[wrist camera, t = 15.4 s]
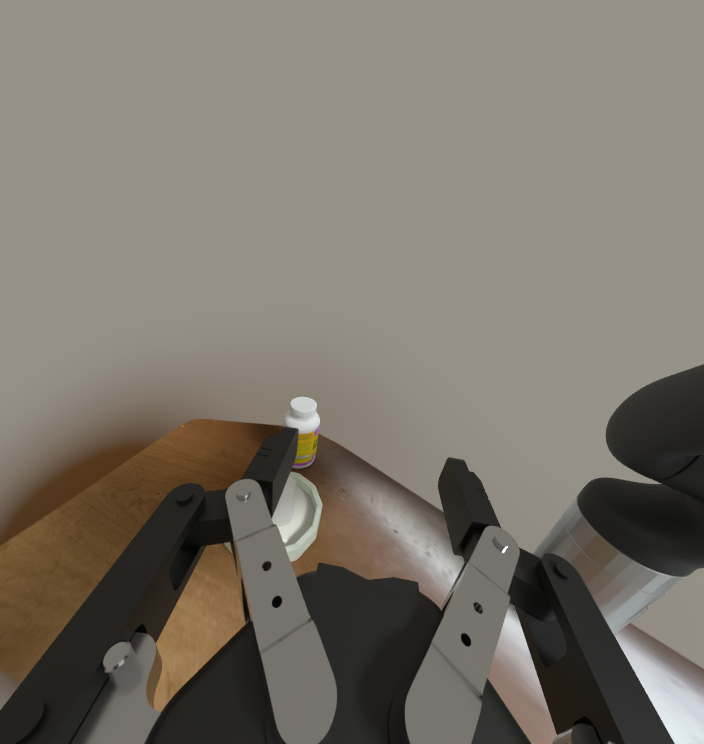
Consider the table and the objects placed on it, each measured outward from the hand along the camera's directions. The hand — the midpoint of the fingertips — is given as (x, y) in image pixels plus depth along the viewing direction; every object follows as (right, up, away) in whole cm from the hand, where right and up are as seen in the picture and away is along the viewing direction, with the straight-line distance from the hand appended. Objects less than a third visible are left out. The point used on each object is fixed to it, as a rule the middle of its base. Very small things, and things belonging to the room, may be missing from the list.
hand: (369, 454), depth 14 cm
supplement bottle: (-12, -13, +39) cm, 42 cm away
